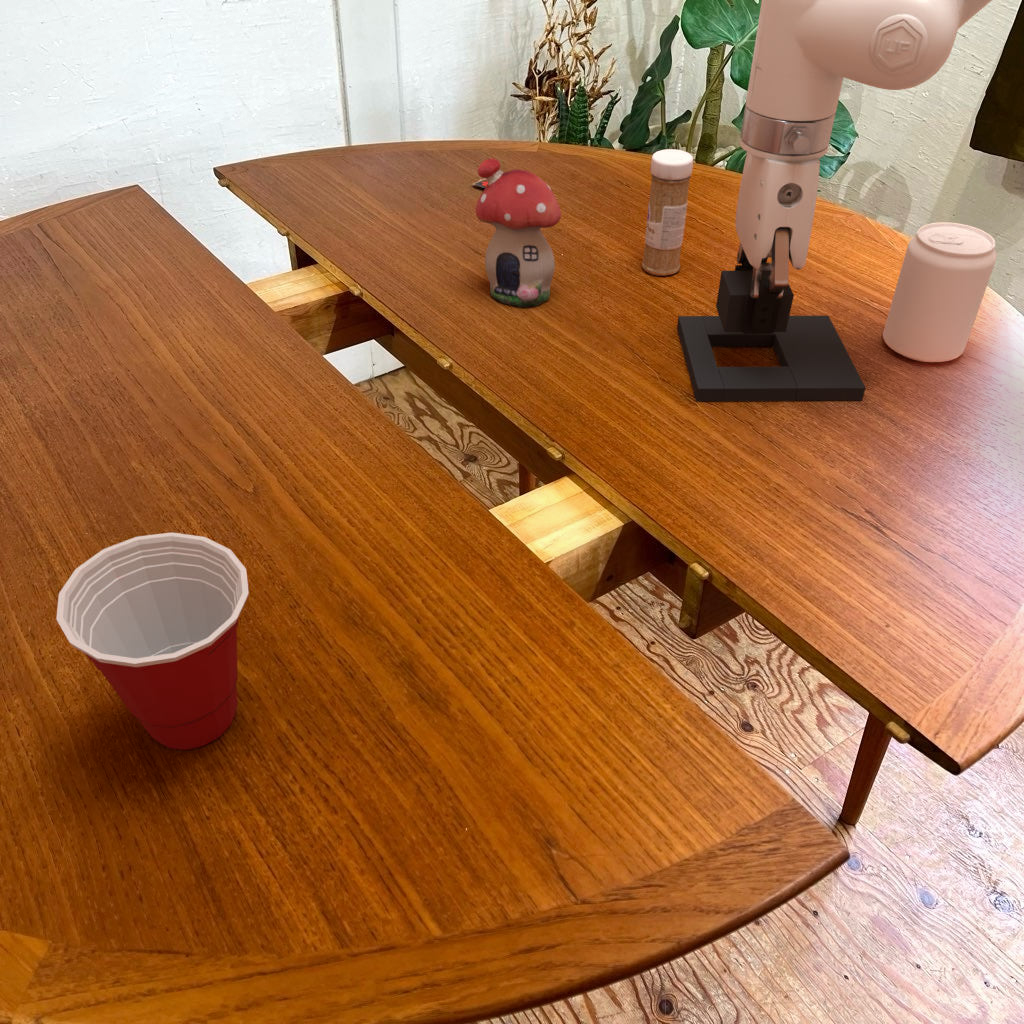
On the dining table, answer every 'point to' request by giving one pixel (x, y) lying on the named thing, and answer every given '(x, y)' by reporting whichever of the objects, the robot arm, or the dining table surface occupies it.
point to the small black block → (734, 297)
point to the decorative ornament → (517, 234)
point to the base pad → (802, 376)
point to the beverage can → (939, 291)
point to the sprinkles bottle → (667, 211)
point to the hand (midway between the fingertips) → (751, 315)
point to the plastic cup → (162, 631)
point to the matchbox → (481, 183)
